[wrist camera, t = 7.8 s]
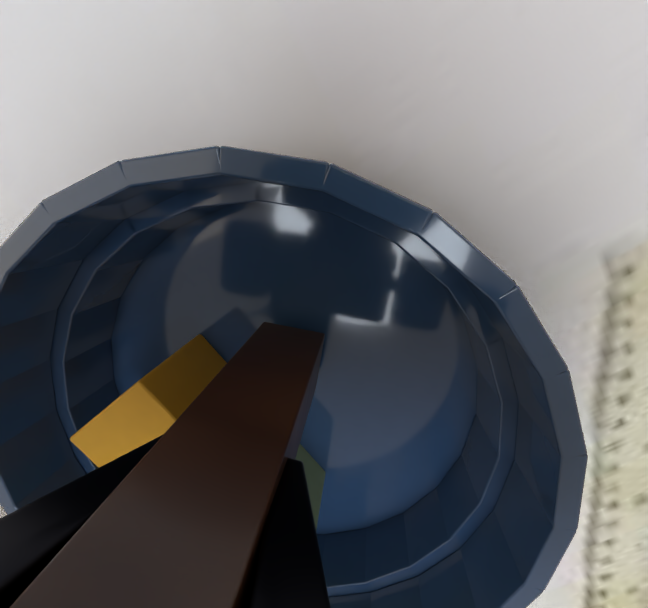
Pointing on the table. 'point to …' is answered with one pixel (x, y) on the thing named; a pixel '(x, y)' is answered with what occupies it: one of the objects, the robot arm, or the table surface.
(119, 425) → the mustard block
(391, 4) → the table surface
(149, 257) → the bowl
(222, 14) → the table surface
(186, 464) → the dark brown bar
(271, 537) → the robot arm
